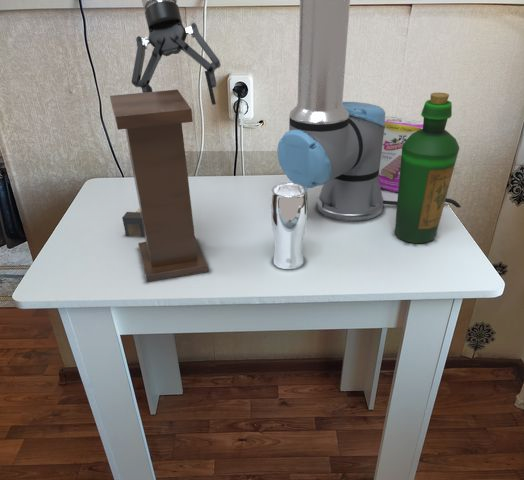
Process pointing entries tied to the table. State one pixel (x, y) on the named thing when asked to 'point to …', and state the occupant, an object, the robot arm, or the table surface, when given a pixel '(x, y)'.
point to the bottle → (426, 173)
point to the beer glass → (289, 223)
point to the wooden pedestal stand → (161, 181)
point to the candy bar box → (394, 150)
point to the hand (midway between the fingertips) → (184, 110)
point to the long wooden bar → (133, 224)
